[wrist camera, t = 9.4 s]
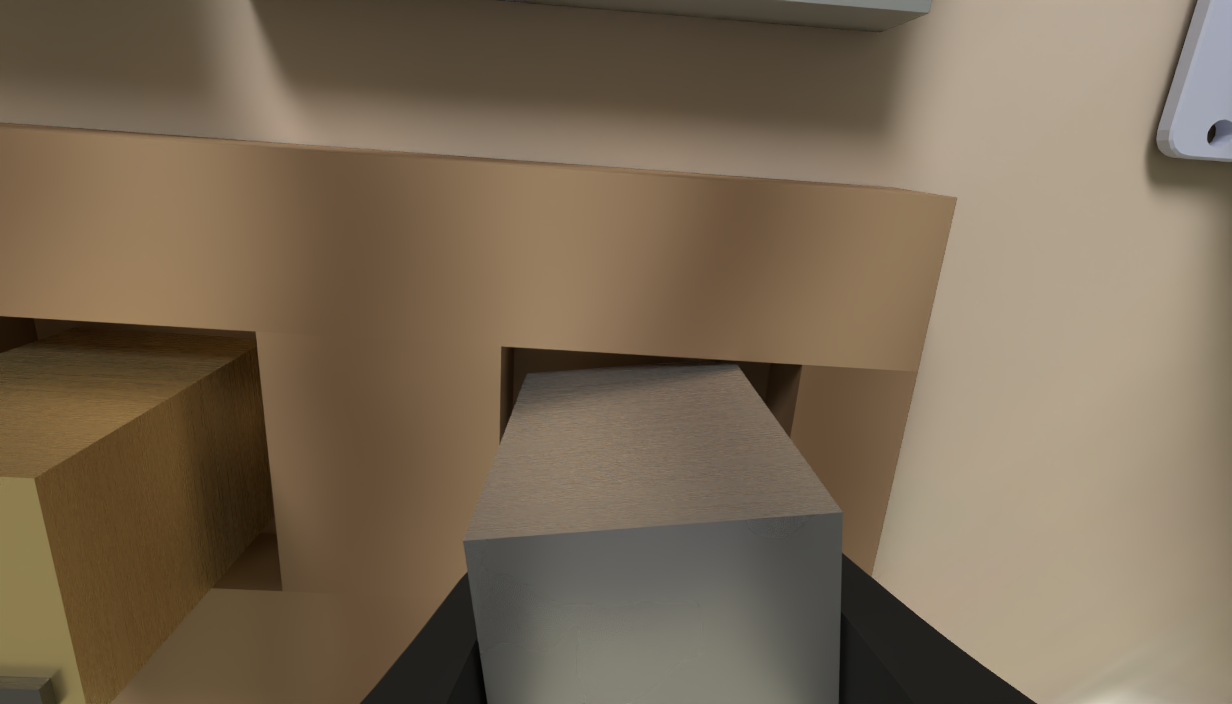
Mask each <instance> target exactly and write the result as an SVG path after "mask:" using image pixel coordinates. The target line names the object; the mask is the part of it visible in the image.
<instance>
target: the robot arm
mask: <svg viewBox="0 0 1232 704" xmlns="http://www.w3.org/2000/svg"><path fill="white" fill-rule="evenodd" d="M1213 124H1214V125H1215V127H1216V134H1215V137H1214V138H1213V140H1212V142H1210V143H1208V141H1207V133H1208V131H1209V129H1210V128H1211V126H1212V125H1213ZM1156 141H1157V145H1158V148H1159V150H1160V151H1161V152H1162V153H1163V154H1164V155H1166V156H1169V157H1172V158H1183V159H1196V160H1209V161H1222V162H1232V0H1198V1H1197V4H1196V8H1195V11H1194V14H1193V17H1192V21H1191V24H1190V27H1189V30H1188V33H1187V37H1186V40H1185V43H1184V46H1183V50H1182V53H1181V56H1180V59H1179V62H1178V66H1177V69H1176V72H1175V75H1174V79H1173V82H1172V85H1171V88H1170V91H1169V95H1168V98H1167V101H1166V104H1165V108H1164V111H1163V114H1162V117H1161V121H1160V124H1159V127H1158V130H1157V138H1156ZM360 704H488V703H487V696H486V690H485V683H484V677H483V670H482V663H481V657H480V650H479V644H478V637H477V630H476V624H475V617H474V611H473V604H472V597H471V591H470V584H469V578H468V572H466V574H465V575H464V576H463V577H462V578H461V579H460V580H459V581H458V583H457V584H456V585H455V587H454V588H453V589H452V590H451V592H450V593H449V594H448V596H447V597H446V598H445V599H444V601H443V602H442V603H441V605H440V606H439V607H438V609H437V610H436V611H435V612H434V614H433V615H432V616H431V618H430V619H429V620H428V622H427V623H426V624H425V625H424V627H423V628H422V629H421V630H420V632H419V633H418V634H417V635H416V637H415V638H414V639H413V641H412V642H411V643H410V644H409V646H408V647H407V648H406V649H405V650H404V652H403V653H402V654H401V655H400V656H399V658H398V659H397V660H396V661H395V662H394V664H393V665H392V666H391V667H390V669H389V670H388V671H387V672H386V673H385V675H384V676H383V677H382V678H381V679H380V681H379V682H378V683H377V684H376V685H375V687H374V688H373V689H372V690H371V691H370V692H369V694H368V695H367V696H366V697H365V698H364V699H363V700H362V701H361V702H360ZM839 704H1037V703H1035V702H1034V701H1032V700H1031V699H1029V698H1028V697H1027V696H1025V695H1024V694H1022V693H1021V692H1020V691H1018V690H1017V689H1015V688H1014V687H1013V686H1011V685H1010V684H1008V683H1007V682H1006V681H1004V680H1003V679H1001V678H1000V677H998V676H997V675H996V674H994V673H993V672H991V671H990V670H989V669H987V668H986V667H984V666H983V665H982V664H980V663H979V662H978V661H976V660H975V659H974V658H972V657H971V656H970V655H968V654H967V653H966V652H964V651H963V650H962V649H960V648H959V647H958V646H956V645H955V644H954V643H952V642H951V641H950V640H948V639H947V638H946V637H945V636H943V635H942V634H941V633H939V632H938V631H937V630H936V629H934V628H933V627H932V626H930V625H929V624H928V623H927V622H925V621H924V620H923V619H922V618H920V617H919V616H918V615H917V614H915V613H914V612H913V611H912V610H910V609H909V608H908V607H907V606H906V605H904V604H903V603H902V602H901V601H899V600H898V599H897V598H896V597H895V596H893V595H892V594H891V593H890V592H889V591H887V590H886V589H885V588H884V587H883V586H881V585H880V584H879V583H878V582H877V581H875V580H874V579H873V578H872V577H871V576H869V575H868V574H867V573H866V572H865V571H863V570H862V569H861V568H860V567H859V566H858V565H856V564H855V563H854V562H853V561H852V560H850V559H849V558H848V557H847V556H846V555H844V554H843V553H842V572H841V619H840V665H839Z"/></svg>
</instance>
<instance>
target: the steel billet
mask: <svg viewBox="0 0 1232 704" xmlns="http://www.w3.org/2000/svg"><path fill="white" fill-rule="evenodd" d="M842 526H843V512H842V510H841V509H840V508H839V506H838V505H837V503H836V502H835V501H834V499H833V498H832V496H831V495H830V494H829V492H828V491H827V489H826V488H825V487H824V485H823V484H822V482H821V481H820V480H819V478H818V477H817V476H816V474H815V473H814V471H813V470H812V469H811V467H810V466H809V464H808V463H807V462H806V460H805V459H804V457H803V456H802V455H801V453H800V452H799V450H798V449H797V448H796V446H795V445H794V443H793V442H792V441H791V439H790V438H789V436H788V435H787V434H786V432H785V431H784V429H783V428H782V427H781V425H780V424H779V422H778V421H777V420H776V418H775V417H774V415H773V414H772V413H771V411H770V410H769V408H768V407H767V406H766V404H765V403H764V402H763V400H762V399H761V397H760V396H759V395H758V393H757V392H756V390H755V389H754V388H753V386H752V385H751V383H750V382H749V381H748V379H747V378H746V376H745V375H744V374H743V372H742V371H741V369H740V368H739V367H738V365H737V364H736V362H735V361H734V360H717V359H711V360H698V361H685V362H671V363H658V364H645V365H631V366H618V367H605V368H592V369H578V370H565V371H552V372H539V373H527V375H526V377H525V380H524V382H523V385H522V388H521V390H520V393H519V396H518V398H517V401H516V403H515V406H514V409H513V411H512V414H511V416H510V419H509V422H508V424H507V427H506V430H505V432H504V435H503V437H502V440H501V443H500V445H499V448H498V450H497V453H496V456H495V458H494V461H493V464H492V466H491V469H490V471H489V474H488V477H487V479H486V482H485V485H484V487H483V490H482V492H481V495H480V498H479V500H478V503H477V505H476V508H475V511H474V513H473V516H472V519H471V521H470V524H469V526H468V529H467V532H466V534H465V537H464V539H463V545H464V551H465V558H466V564H467V571H468V578H469V584H470V591H471V597H472V604H473V611H474V617H475V624H476V630H477V637H478V644H479V650H480V657H481V663H482V670H483V677H484V683H485V690H486V696H487V703H488V704H839V665H840V619H841V572H842Z"/></svg>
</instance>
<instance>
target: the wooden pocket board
mask: <svg viewBox="0 0 1232 704" xmlns="http://www.w3.org/2000/svg"><path fill="white" fill-rule="evenodd" d="M956 201H957V198H956V197H949V196H943V195H937V194H930V193H924V192H918V191H911V190H905V189H899V188H889V187H876V186H862V185H848V184H835V183H821V182H807V181H793V180H780V179H766V178H752V177H738V176H725V175H711V174H697V173H684V172H670V171H656V170H642V169H629V168H615V167H601V166H587V165H574V164H560V163H546V162H533V161H519V160H505V159H491V158H478V157H464V156H450V155H437V154H423V153H409V152H395V151H382V150H368V149H354V148H340V147H327V146H313V145H299V144H286V143H272V142H258V141H244V140H231V139H217V138H203V137H190V136H176V135H162V134H148V133H135V132H121V131H107V130H93V129H80V128H66V127H52V126H39V125H25V124H11V123H0V353H3V352H6V351H9V350H12V349H14V348H17V347H20V346H23V345H26V344H29V343H31V342H34V341H37V340H40V339H43V338H46V337H48V336H51V335H54V334H57V333H60V332H63V331H65V330H68V329H71V328H74V327H77V328H94V329H111V330H127V331H144V332H160V333H177V334H194V335H210V336H227V337H243V338H256V340H257V349H258V359H259V369H260V378H261V388H262V398H263V407H264V417H265V426H266V436H267V446H268V455H269V465H270V474H271V484H272V494H273V503H274V513H275V516H274V517H273V518H272V519H271V520H270V522H269V523H268V524H267V525H266V526H265V527H264V528H263V530H262V531H261V532H260V533H259V534H258V535H257V536H256V538H255V539H254V540H253V541H252V542H251V543H250V544H249V546H248V547H247V548H246V549H245V550H244V551H243V552H242V554H241V555H240V556H239V557H238V558H237V559H236V561H235V562H234V563H233V564H232V565H231V566H230V567H229V569H228V570H227V571H226V572H225V573H224V574H223V575H222V577H221V578H220V579H219V580H218V581H217V582H216V583H215V585H214V586H213V587H212V588H211V589H210V590H209V591H208V593H207V594H206V595H205V596H204V597H203V598H202V599H201V601H200V602H199V603H198V604H197V605H196V606H195V608H194V609H193V610H192V611H191V612H190V613H189V614H188V616H187V617H186V618H185V619H184V620H183V621H182V622H181V624H180V625H179V626H178V627H177V628H176V629H175V630H174V632H173V633H172V634H171V635H170V636H169V637H168V638H167V640H166V641H165V642H164V643H163V644H162V645H161V646H160V648H159V649H158V650H157V651H156V652H155V653H154V655H153V656H152V657H151V658H150V659H149V660H148V661H147V663H146V664H145V665H144V666H143V667H142V668H141V669H140V671H139V672H138V673H137V674H136V675H135V676H134V677H133V679H132V680H131V681H130V682H129V683H128V684H127V685H126V687H125V688H124V689H123V690H122V691H121V692H120V693H119V695H118V696H117V697H116V698H115V699H114V700H113V701H112V703H111V704H360V702H361V701H362V700H363V699H364V698H365V697H366V696H367V695H368V694H369V692H370V691H371V690H372V689H373V688H374V687H375V685H376V684H377V683H378V682H379V681H380V679H381V678H382V677H383V676H384V675H385V673H386V672H387V671H388V670H389V669H390V667H391V666H392V665H393V664H394V662H395V661H396V660H397V659H398V658H399V656H400V655H401V654H402V653H403V652H404V650H405V649H406V648H407V647H408V646H409V644H410V643H411V642H412V641H413V639H414V638H415V637H416V635H417V634H418V633H419V632H420V630H421V629H422V628H423V627H424V625H425V624H426V623H427V622H428V620H429V619H430V618H431V616H432V615H433V614H434V612H435V611H436V610H437V609H438V607H439V606H440V605H441V603H442V602H443V601H444V599H445V598H446V597H447V596H448V594H449V593H450V592H451V590H452V589H453V588H454V587H455V585H456V584H457V583H458V581H459V580H460V579H461V578H462V577H463V576H464V575H465V574H466V572H468V571H467V564H466V558H465V551H464V545H463V539H464V537H465V534H466V532H467V529H468V526H469V524H470V521H471V519H472V516H473V513H474V511H475V508H476V505H477V503H478V500H479V498H480V495H481V492H482V490H483V487H484V485H485V482H486V479H487V477H488V474H489V471H490V469H491V466H492V464H493V461H494V458H495V456H496V453H497V450H498V448H499V445H500V443H501V440H502V437H503V435H504V432H505V430H506V427H507V424H508V422H509V419H510V416H511V414H512V411H513V409H514V406H515V403H516V401H517V398H518V396H519V393H520V390H521V388H522V385H523V382H524V380H525V377H526V375H527V373H539V372H552V371H565V370H578V369H592V368H605V367H618V366H631V365H645V364H658V363H671V362H685V361H698V360H711V359H717V360H734V361H735V362H736V364H737V365H738V367H739V368H740V369H741V371H742V372H743V374H744V375H745V376H746V378H747V379H748V381H749V382H750V383H751V385H752V386H753V388H754V389H755V390H756V392H757V393H758V395H759V396H760V397H761V399H762V400H763V402H764V403H765V404H766V406H767V407H768V408H769V410H770V411H771V413H772V414H773V415H774V417H775V418H776V420H777V421H778V422H779V424H780V425H781V427H782V428H783V429H784V431H785V432H786V434H787V435H788V436H789V438H790V439H791V441H792V442H793V443H794V445H795V446H796V448H797V449H798V450H799V452H800V453H801V455H802V456H803V457H804V459H805V460H806V462H807V463H808V464H809V466H810V467H811V469H812V470H813V471H814V473H815V474H816V476H817V477H818V478H819V480H820V481H821V482H822V484H823V485H824V487H825V488H826V489H827V491H828V492H829V494H830V495H831V496H832V498H833V499H834V501H835V502H836V503H837V505H838V506H839V508H840V509H841V510H842V512H843V526H842V553H843V554H844V555H846V556H847V557H848V558H849V559H850V560H852V561H853V562H854V563H855V564H856V565H858V566H859V567H860V568H861V569H862V570H863V571H865V572H866V573H867V574H868V575H869V576H871V575H872V571H873V567H874V562H875V558H876V553H877V549H878V545H879V540H880V536H881V531H882V527H883V523H884V518H885V514H886V509H887V505H888V501H889V496H890V492H891V487H892V483H893V479H894V474H895V470H896V465H897V461H898V457H899V452H900V448H901V443H902V439H903V435H904V430H905V426H906V421H907V417H908V413H909V408H910V404H911V399H912V395H913V391H914V386H915V382H916V377H917V373H918V369H919V364H920V360H921V355H922V351H923V346H924V342H925V338H926V333H927V329H928V324H929V320H930V316H931V311H932V307H933V302H934V298H935V294H936V289H937V285H938V280H939V276H940V272H941V267H942V263H943V258H944V254H945V250H946V245H947V241H948V236H949V232H950V228H951V223H952V219H953V214H954V210H955V206H956Z"/></svg>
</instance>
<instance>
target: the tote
mask: <svg viewBox="0 0 1232 704" xmlns="http://www.w3.org/2000/svg"><path fill="white" fill-rule="evenodd" d="M499 1H511V2H523V3H535V4H547V5H560V6H572V7H584V8H596V9H608V10H620V11H632V12H644V13H656V14H668V15H680V16H692V17H704V18H716V19H728V20H740V21H752V22H764V23H776V24H788V25H800V26H812V27H824V28H836V29H848V30H860V31H872V32H882V31H884V30H887V29H889V28H892V27H894V26H897V25H900V24H902V23H905V22H907V21H910V20H912V19H915V18H917V17H920V16H923V15H925V14H928V13H929V12H930V6H931V1H932V0H499Z"/></svg>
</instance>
